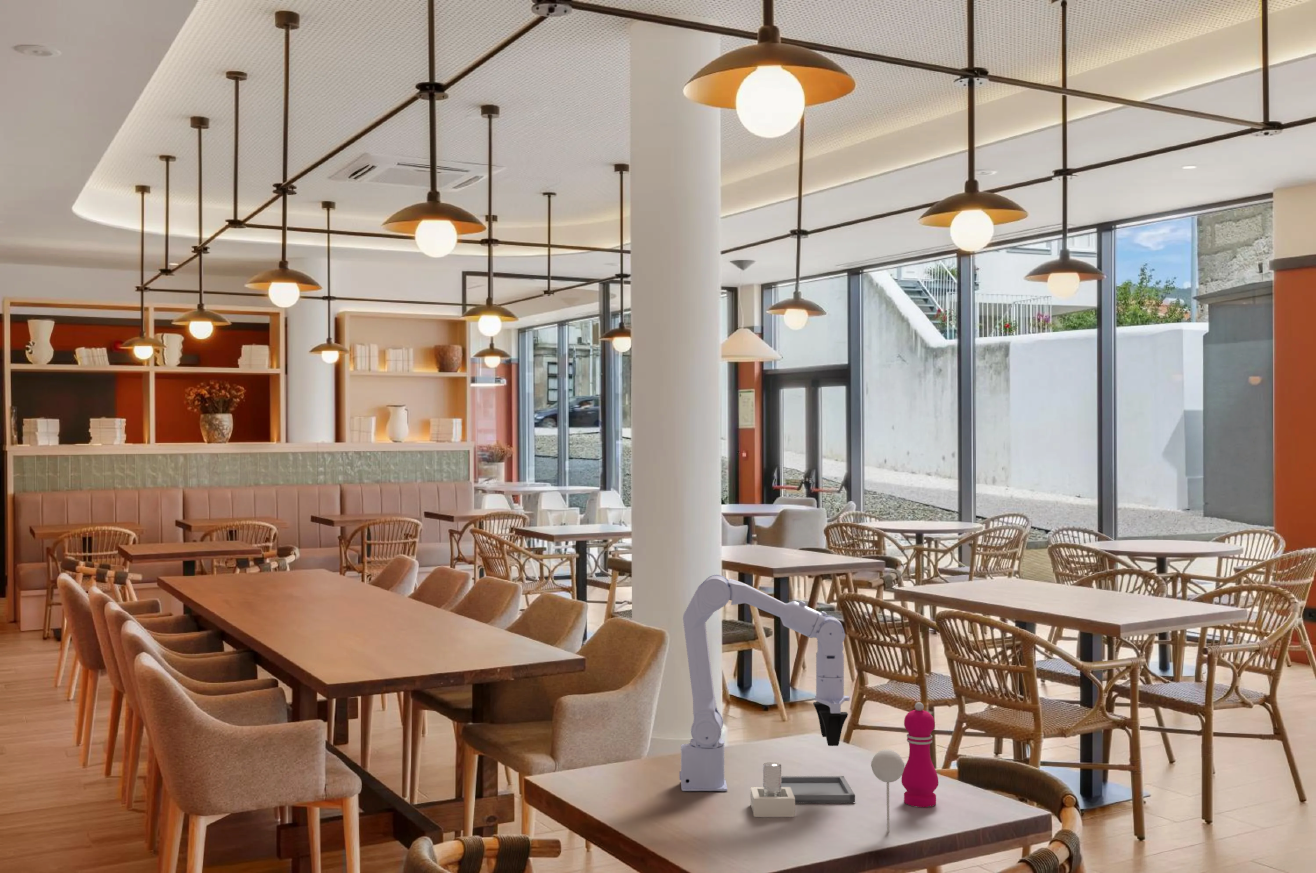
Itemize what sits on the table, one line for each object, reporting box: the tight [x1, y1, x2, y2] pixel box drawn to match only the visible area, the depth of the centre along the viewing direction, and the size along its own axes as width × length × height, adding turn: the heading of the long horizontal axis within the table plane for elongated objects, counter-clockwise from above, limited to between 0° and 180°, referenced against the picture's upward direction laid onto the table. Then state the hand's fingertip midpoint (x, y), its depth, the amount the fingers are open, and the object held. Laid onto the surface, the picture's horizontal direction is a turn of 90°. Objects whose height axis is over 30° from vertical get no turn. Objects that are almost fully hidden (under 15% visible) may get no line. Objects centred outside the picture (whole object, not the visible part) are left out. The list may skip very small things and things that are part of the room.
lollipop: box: [870, 748, 905, 833], centre depth 210 cm, size 6×6×15 cm
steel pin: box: [762, 761, 782, 797], centre depth 223 cm, size 4×4×9 cm
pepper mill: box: [900, 701, 939, 808], centre depth 228 cm, size 7×7×20 cm
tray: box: [781, 775, 856, 804], centre depth 235 cm, size 16×14×2 cm
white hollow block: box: [750, 786, 796, 818], centre depth 223 cm, size 8×8×4 cm
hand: (830, 741), depth 238 cm, fingers open, 7 cm apart
